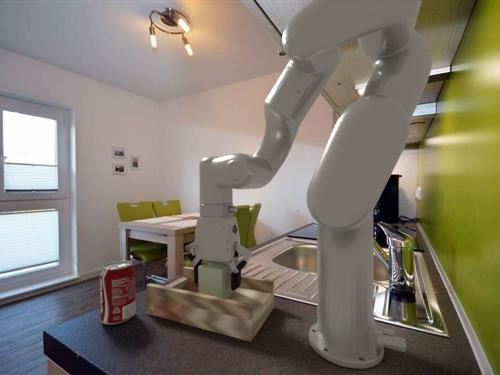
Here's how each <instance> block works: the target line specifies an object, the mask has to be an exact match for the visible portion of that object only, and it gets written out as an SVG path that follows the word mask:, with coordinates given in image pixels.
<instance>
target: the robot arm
mask: <svg viewBox="0 0 500 375" xmlns="http://www.w3.org/2000/svg"><path fill="white" fill-rule="evenodd" d="M422 3H423V0H313V1H312V2H309V4H307V5H306V6H304V7H303V8H302V9H301V10H299V11H298V12H297V13H296V14H295V15H294V16H292V18H290V20H289V22H287V24H286V26H285V28H284V31H283V33H282V40H281V42H282V47H283V51H284V53H285V54H286V56H287V58H288V62H287V64H285V67H284V69H283V71H282V72H281V73H280V75H279V76H278V79H277V80H276V82H275V84H274V85H273V87H272V88H271V91H270V92H269V93H268V95H267V97H266V98H265V100H264V103H263V113H264V119H265V130H264V135H263V137H262V140H261V142H260V143H259V146H258V147H257V149H256V151H255V152H254V153H253V154H247V153H243V152H239V153H238V152H237V153H231V154H227V155H223V156H206V157H203V158H202V159H200V161H199V163H198V164H199V168H198V169H199V173H198V175H199V176H198V177H199V182H198V184H199V216H198V217H197V219H196V224H195V225H196V226H195V232H194V241H192V242H190V243H188V244H186V245H185V246H184V250H185V252H186V254H187V258H188V260H189V261H190V263H191V267H192V268H194V283H195V284H198V266H200V265H202V264H204V261H206V262H208V261H213V262H220V263H228V264H229V266H230V267H231V269H232V270H233V272H232V273H231V290H232V291H235V290H236V289H237V288H238V287H239V286H240V285H241V275H242V270H243V269H244V268H245V266H247V265H248V264H249V262H250V259H251V258H252V255H253V252H252V251H251V250H249V249H248V248H247V247H245V246H243V245H241V239H240V230H239V224H238V220H237V217H236V216H233V215H234V214H235V213H238V209H239V208H238V206H234V200H233V198H234V197H233V195H234V194H233V190H251V189H252V190H253V189H254V190H255V189H262V188H264V187H265V186H267V185H268V184H269V183H271V181H272V180H273V178H275V176H276V175H277V173H278V171H279V170H280V169H281V167H282V165H283V164H284V163H285V162H286V160H287V157H288V156H289V153H290V151H291V150H292V147H293V144H294V141H295V140H296V137H297V134H298V131H299V128H300V126H301V124H302V122H303V121H304V120H305V118H306V116H307V115H308V114H309V111H310V110H311V109H312V107H313V105H314V104H315V103H316V101H317V100H318V98H319V96H320V95H321V93H322V92H323V91H324V89H325V87H326V86H327V85H328V83H329V81H330V80H331V78H332V77H333V76H334V74H335V72H336V70H337V68H338V66H339V64H340V61H341V47H342V46H344V45H347V44H349V43H351V42H355V41H356V40H357V43H358V48H359V49H360V52H361V53H362V55H363V56H364V57H365V59H367V61H369V63H370V64H371V66H372V70H373V71H372V74H371V76H370V78H369V80H368V82H367V83H366V86H365V88H364V91H363V94H362V96H361V98H359V99H358V100H356V101H354V102H352V103H351V104H350V105H348V106H347V107H346V108H345V109H344V110H343V112H342V113H341V115H339V117H338V119H337V121H336V122H335V124H334V127H333V129H332V131H331V133H330V136H329V138H328V140H327V142H326V145H325V147H324V150H323V151H322V154H321V156H320V159H319V161H318V164H317V166H316V168H315V170H314V173H313V175H312V177H311V179H310V181H309V185H308V188H307V192H306V205H307V206H306V207H307V208H308V209H307V210H308V212H309V214H310V216H311V217H312V219H313V220H314V221H315V222H316V223H317V234H316V235H317V237H316V259H317V260H316V274H317V275H316V277H317V278H316V283H317V284H316V287H317V288H316V292H317V293H316V294H317V295H316V297H317V298H316V300H317V301H316V302H317V305H316V307H317V308H316V312H317V316H316V317H317V318H316V321H317V322H315V323H314V324H313V325H312V326H311V327H310V329H309V330H308V340H309V341H308V342H309V345H310V346H311V347H312V349H313V350H314V351H315V353H316V354H318V355H319V356H320V357H322V358H324V360H327V361H328V362H330V363H332V364H335V365H338V366H341V367H344V368H348V369H356V370H357V369H359V370H360V369H370V368H373V367H375V366H377V365H379V363H381V362H382V361H383V359H384V357H385V356H384V353H385V351H384V350H385V349H384V348H386V349H387V348H388V349H392V350H393V351H394V350H395V351H399V352H402V353H403V352H404V353H407V352H406V351H407V343H406V339H405V338H404V337H403V338H402V337H398V336H395V335H396V334H395V330H393V329H387V328H381V327H380V325H376V324H377V323H376V319H375V316H374V263H375V261H374V257H375V256H374V254H375V253H374V210H375V207H376V206H377V203H378V201H379V200H380V197H381V195H382V193H383V191H384V190H385V188H386V185H387V183H388V181H389V179H390V177H391V175H392V173H393V171H394V170H395V169H396V168H395V167H396V165H398V164H397V163H398V162H399V160H400V157H401V156H402V153H403V151H404V150H405V148H406V145H407V144H408V140H409V137H410V133H411V119H412V117H413V116H414V113H415V111H416V110H417V109H416V108H417V106H418V104H419V102H420V100H421V98H422V95H423V93H424V90H425V88H426V86H427V84H428V81H429V78H430V75H431V72H432V66H433V63H432V62H433V60H432V56H431V53H430V48H429V47H428V45H427V43H426V42H425V40H424V39H423V38H422V37H421V36H420V35H419V33H418V32H417V30H416V29H415V27H416V23H417V20H418V16H419V12H420V9H421V6H422ZM241 255H242V259H241V260H240V259H239V258H240V257H241Z"/></svg>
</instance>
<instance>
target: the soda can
mask: <svg viewBox="0 0 500 375" xmlns="http://www.w3.org/2000/svg"><path fill="white" fill-rule="evenodd" d="M132 264H133V263H132V261H131V260H117V261H111V262H108V263H106V264H104V265H103V270H102V271H101V273H100V276H99V287H100V288H99V290H100V291H99V293H100V296H99V297H100V303H99V304H100V322H101V323H102V324H103V325H107V326H108V325H109V326H116V325H121V324H123V323H126V322H127V321H130V320H131V318H133V317H134V316H135V315H136V311H137V309H136V269H135V268H134V266H133V265H132Z"/></svg>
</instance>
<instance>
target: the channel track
mask: <svg viewBox="0 0 500 375" xmlns="http://www.w3.org/2000/svg"><path fill="white" fill-rule="evenodd" d="M145 287H146V288H145V291H146V292H145V294H146V295H145V297H146V299H145V300H146V314H148V315H150V316H154V317H157V316H158V318H162V319H166V320H169V321H173V322H176V323H180V324H183V325H188V326H191V327H195V328H198V329H202V330H206V331H210V332H213V333H218V334H221V335H225V336H229V337H232V338H235V339H238V340H242V341H247V342H250V343H252V341H253V340H254V338H255V337H256V335H257V333H258V332H259V330H260V329H261V328H262V326H263V325H264V323H265V322H266V320H267V319H268V317H269V316H270V314H271V313H272V311H273V310H274V308H275V279H268V278H263V277H257V276H250V275H245V274H244V275H243V274H241V285H240V286H239V287H238V288H237V289H236V290H235V291H234V292H233V293H232V294H231V295H230V296H229V297H228V298H226V299H225V298H220V297H215V296H210V295H205V294H201V293H199V285H198V284H195V283H194V267H193V266H191V267H190V266H184V267H182V277H179V278H177V279H176V280H174V281H172V282H170V283H169V284H167V285H161V284H156V283H147V284H146V286H145Z"/></svg>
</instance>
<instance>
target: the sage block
mask: <svg viewBox="0 0 500 375" xmlns="http://www.w3.org/2000/svg"><path fill="white" fill-rule="evenodd" d="M203 263H204V262H203ZM232 272H233V270H232V269H231V267H230V266H229V264H228V263H220V262H213V261H206V262H205V263H204V264H202V265H200V266H198V285H199V293H201V294H205V295H210V296H215V297H220V298H225V299H226V298H228V297H229V296H230V295H231V294H232V293H233V292H234V291H232V290H231V273H232Z"/></svg>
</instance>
